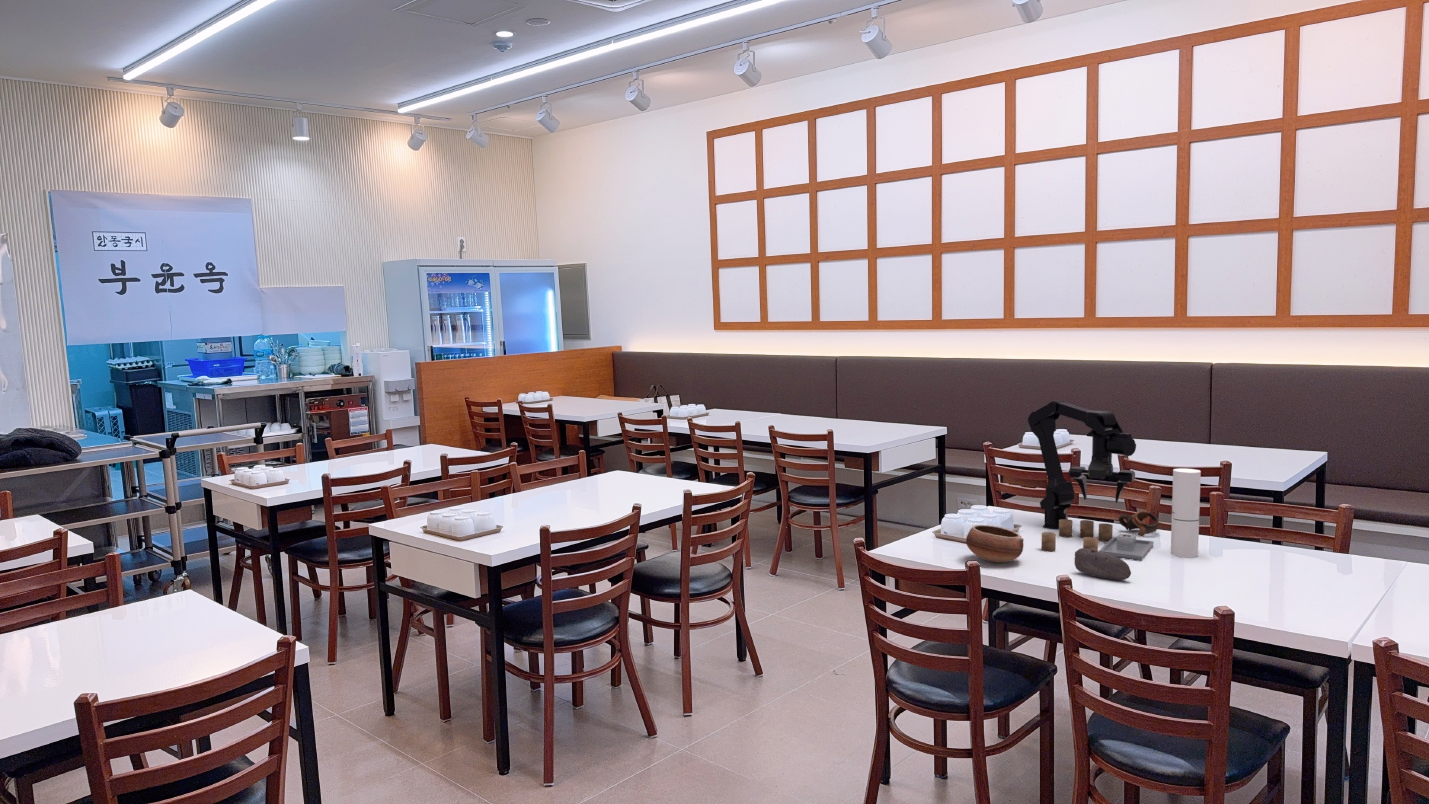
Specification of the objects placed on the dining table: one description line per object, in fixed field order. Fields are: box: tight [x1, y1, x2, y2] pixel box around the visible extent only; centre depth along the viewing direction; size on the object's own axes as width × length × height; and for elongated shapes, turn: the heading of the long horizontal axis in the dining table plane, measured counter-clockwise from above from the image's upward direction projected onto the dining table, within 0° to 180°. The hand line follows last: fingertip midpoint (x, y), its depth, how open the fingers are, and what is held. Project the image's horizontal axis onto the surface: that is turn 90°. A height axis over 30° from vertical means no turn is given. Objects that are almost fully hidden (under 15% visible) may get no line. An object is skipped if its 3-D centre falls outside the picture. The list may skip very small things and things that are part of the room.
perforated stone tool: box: [1073, 547, 1132, 581], centre depth 250 cm, size 15×5×7 cm, turn 39°
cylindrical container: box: [1170, 467, 1202, 559], centre depth 270 cm, size 7×7×25 cm
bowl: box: [965, 524, 1024, 564], centre depth 268 cm, size 16×16×10 cm
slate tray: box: [1098, 536, 1155, 562], centre depth 277 cm, size 12×20×2 cm, turn 146°
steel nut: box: [1116, 533, 1137, 552], centre depth 277 cm, size 4×4×4 cm
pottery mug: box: [1117, 510, 1160, 537], centre depth 298 cm, size 12×10×8 cm
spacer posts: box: [1041, 518, 1114, 553], centre depth 285 cm, size 16×26×5 cm, turn 146°
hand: (1100, 501), depth 291 cm, fingers open, 9 cm apart
